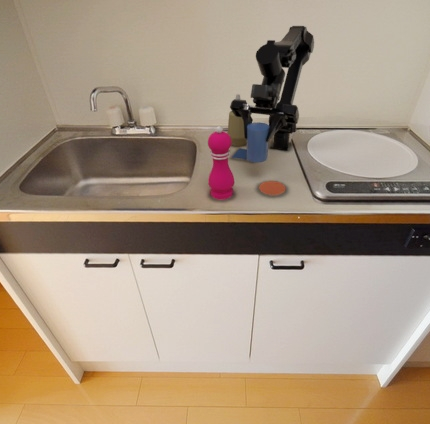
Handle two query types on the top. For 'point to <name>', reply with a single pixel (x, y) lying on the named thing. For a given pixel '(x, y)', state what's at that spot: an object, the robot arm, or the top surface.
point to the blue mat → (241, 154)
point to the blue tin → (257, 142)
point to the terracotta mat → (272, 188)
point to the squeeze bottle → (236, 128)
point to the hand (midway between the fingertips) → (255, 140)
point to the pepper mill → (220, 165)
